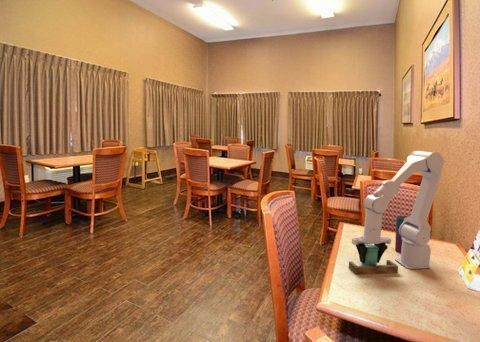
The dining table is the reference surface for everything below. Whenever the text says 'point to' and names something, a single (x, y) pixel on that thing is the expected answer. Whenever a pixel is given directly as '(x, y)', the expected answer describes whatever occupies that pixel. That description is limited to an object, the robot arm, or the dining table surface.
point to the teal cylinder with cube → (371, 255)
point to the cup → (398, 237)
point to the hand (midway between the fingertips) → (369, 262)
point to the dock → (374, 268)
